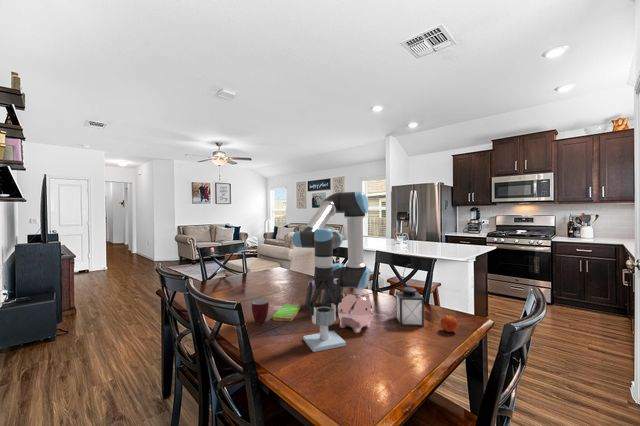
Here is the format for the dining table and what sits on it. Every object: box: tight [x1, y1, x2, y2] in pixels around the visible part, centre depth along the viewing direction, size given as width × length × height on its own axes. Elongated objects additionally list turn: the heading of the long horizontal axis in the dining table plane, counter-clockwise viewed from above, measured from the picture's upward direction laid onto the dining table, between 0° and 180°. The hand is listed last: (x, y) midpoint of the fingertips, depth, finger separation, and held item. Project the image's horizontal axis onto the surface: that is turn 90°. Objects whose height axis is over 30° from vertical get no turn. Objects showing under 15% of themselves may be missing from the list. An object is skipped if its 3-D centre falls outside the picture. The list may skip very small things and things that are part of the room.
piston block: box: [302, 325, 347, 353], centre depth 121 cm, size 14×12×10 cm
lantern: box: [395, 264, 425, 327], centre depth 143 cm, size 11×11×28 cm
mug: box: [251, 299, 269, 325], centre depth 142 cm, size 11×8×10 cm
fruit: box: [440, 313, 458, 333], centre depth 131 cm, size 7×7×8 cm
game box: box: [272, 303, 301, 322], centre depth 155 cm, size 3×10×20 cm
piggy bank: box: [337, 292, 375, 334], centre depth 137 cm, size 15×18×16 cm
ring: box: [315, 306, 335, 327], centre depth 121 cm, size 8×8×5 cm
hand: (323, 321), depth 121 cm, fingers closed on ring, 8 cm apart
